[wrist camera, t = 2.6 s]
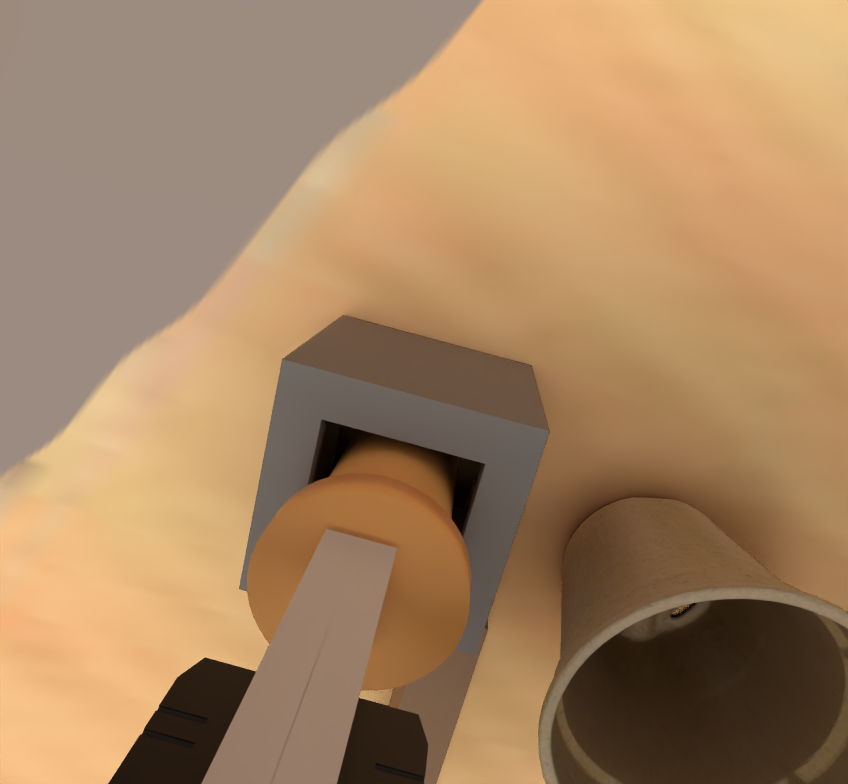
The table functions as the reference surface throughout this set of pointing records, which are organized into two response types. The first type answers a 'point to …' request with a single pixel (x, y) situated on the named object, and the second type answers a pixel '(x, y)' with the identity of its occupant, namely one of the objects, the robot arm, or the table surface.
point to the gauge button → (387, 524)
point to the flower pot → (689, 661)
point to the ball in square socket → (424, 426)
